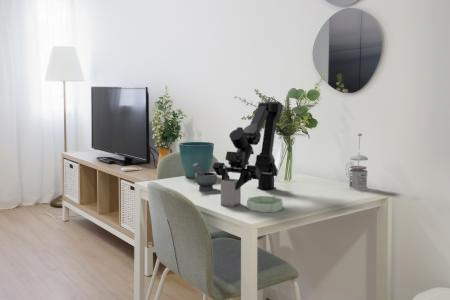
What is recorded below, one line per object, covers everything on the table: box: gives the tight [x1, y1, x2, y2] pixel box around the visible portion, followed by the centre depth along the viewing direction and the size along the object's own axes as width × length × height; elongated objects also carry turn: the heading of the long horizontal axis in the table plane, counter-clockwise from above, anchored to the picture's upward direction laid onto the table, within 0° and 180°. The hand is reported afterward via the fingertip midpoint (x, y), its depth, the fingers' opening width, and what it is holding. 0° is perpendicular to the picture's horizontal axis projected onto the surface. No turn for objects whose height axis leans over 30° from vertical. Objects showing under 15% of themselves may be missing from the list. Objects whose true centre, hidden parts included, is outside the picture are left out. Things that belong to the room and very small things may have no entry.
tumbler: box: [220, 178, 242, 208], centre depth 175 cm, size 6×6×10 cm
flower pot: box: [178, 141, 215, 179], centre depth 233 cm, size 18×18×17 cm
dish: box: [246, 195, 284, 213], centre depth 171 cm, size 13×13×3 cm
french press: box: [345, 133, 369, 192], centre depth 204 cm, size 10×12×25 cm
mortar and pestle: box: [193, 163, 218, 192], centre depth 202 cm, size 11×9×12 cm
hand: (229, 188), depth 173 cm, fingers closed on tumbler, 6 cm apart
